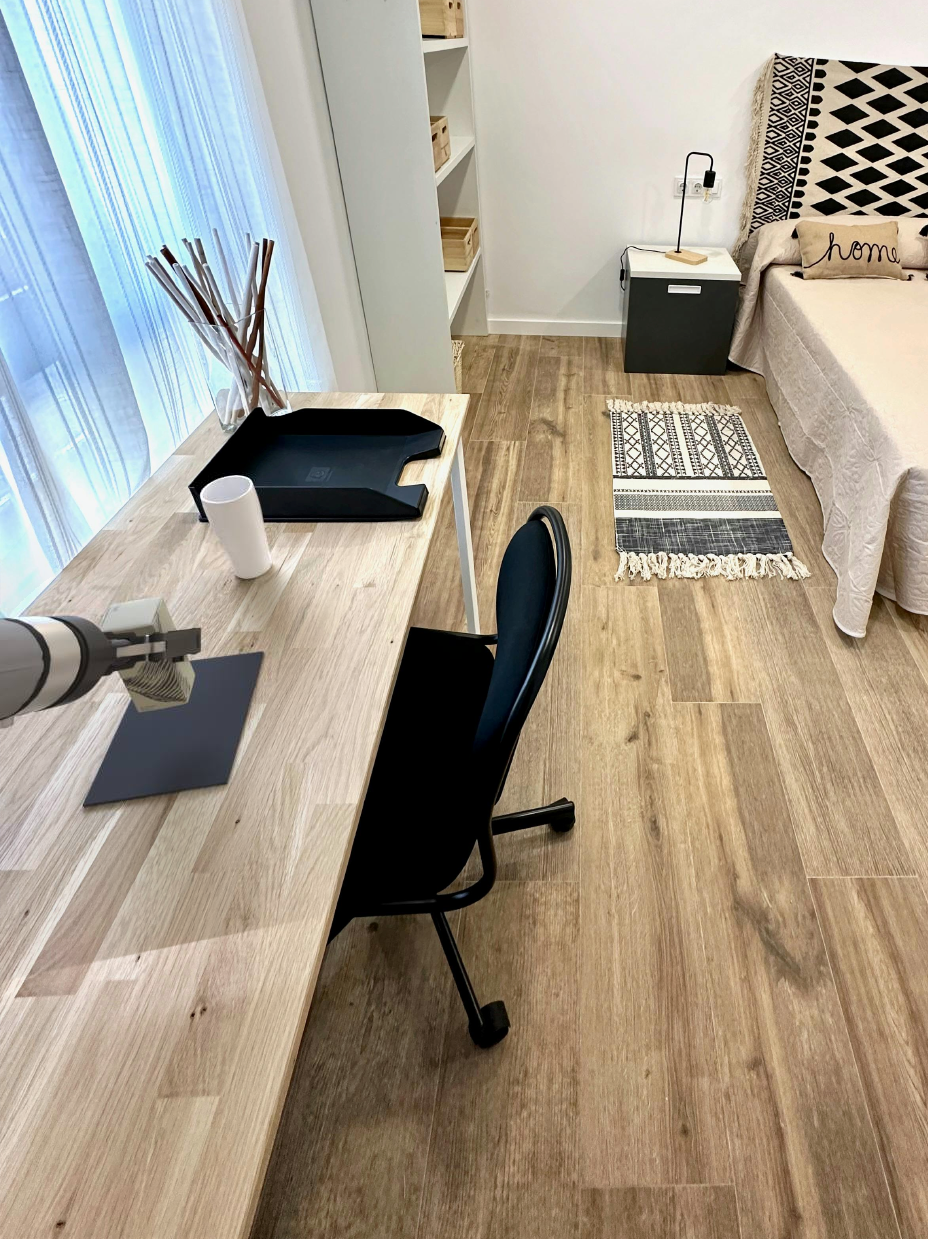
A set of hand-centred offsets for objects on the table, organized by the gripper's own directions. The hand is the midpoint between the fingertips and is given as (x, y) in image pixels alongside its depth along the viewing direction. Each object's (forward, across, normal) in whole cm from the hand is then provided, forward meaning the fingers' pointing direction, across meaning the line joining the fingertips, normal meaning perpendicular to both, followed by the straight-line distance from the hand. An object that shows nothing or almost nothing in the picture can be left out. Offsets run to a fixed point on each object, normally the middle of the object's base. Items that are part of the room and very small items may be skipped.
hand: (168, 643), depth 76 cm
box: (0, 0, -6) cm, 6 cm away
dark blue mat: (+4, 0, -9) cm, 10 cm away
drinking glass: (+23, +2, +9) cm, 24 cm away
